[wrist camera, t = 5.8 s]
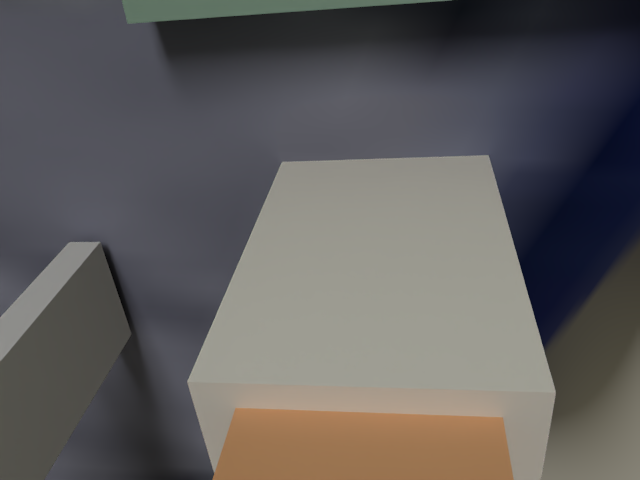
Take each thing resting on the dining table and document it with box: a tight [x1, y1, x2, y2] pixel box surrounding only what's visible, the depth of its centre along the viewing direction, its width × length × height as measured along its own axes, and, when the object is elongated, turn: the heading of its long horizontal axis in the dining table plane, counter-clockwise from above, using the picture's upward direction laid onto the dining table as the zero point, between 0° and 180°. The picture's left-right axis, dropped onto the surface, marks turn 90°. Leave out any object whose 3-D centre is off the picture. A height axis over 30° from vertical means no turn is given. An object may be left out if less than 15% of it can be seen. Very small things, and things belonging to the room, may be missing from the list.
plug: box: [187, 155, 556, 480], centre depth 10 cm, size 4×6×7 cm, turn 5°
